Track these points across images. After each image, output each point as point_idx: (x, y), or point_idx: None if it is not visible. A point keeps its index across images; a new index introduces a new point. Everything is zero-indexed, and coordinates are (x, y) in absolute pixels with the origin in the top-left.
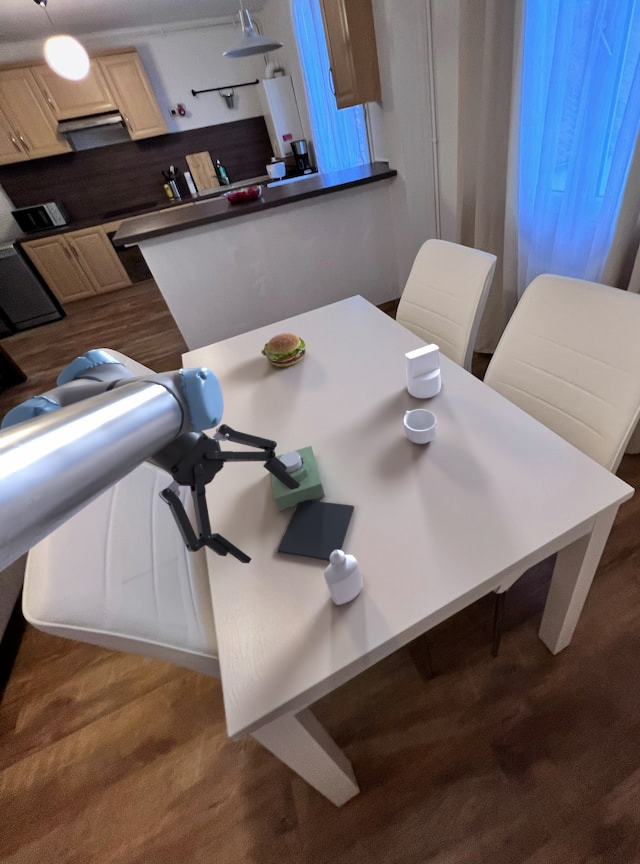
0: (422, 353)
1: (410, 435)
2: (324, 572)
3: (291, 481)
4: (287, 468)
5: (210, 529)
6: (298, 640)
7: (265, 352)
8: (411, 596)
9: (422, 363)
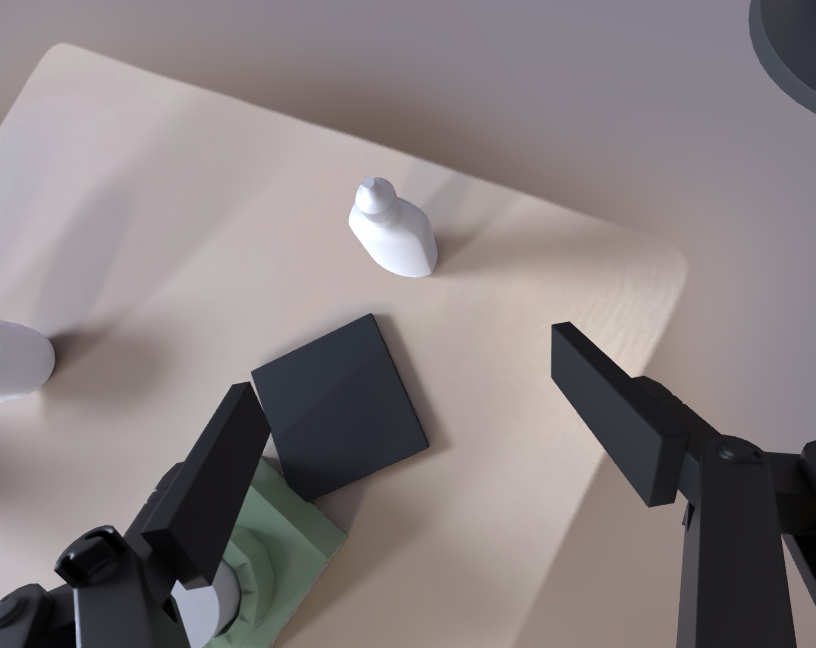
0: None
1: (26, 364)
2: (416, 238)
3: (232, 405)
4: (223, 589)
5: (704, 479)
6: (529, 268)
7: None
8: (350, 169)
9: None
